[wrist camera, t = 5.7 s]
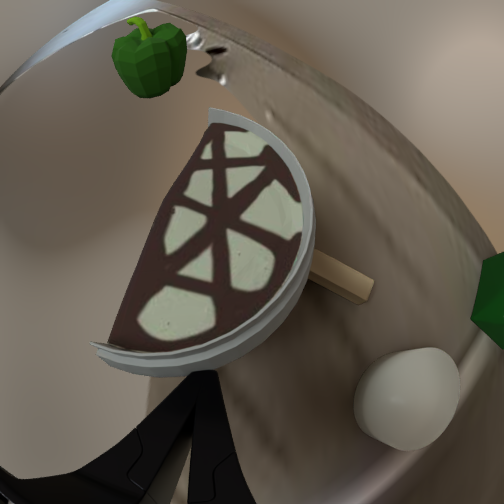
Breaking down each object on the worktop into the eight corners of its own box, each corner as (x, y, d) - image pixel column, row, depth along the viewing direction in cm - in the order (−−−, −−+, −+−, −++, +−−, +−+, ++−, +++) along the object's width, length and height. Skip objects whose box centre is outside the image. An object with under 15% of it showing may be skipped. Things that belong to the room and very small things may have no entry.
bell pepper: (200, 89, 27) (194, 14, 18) (133, 116, 25) (109, 40, 16) (177, 64, 29) (169, 2, 20) (119, 86, 27) (101, 24, 18)
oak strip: (358, 305, 19) (367, 300, 17) (171, 206, 21) (167, 196, 19) (365, 286, 19) (374, 280, 18) (182, 192, 21) (179, 181, 20)
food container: (256, 402, 15) (293, 427, 6) (160, 374, 15) (83, 360, 6) (294, 233, 21) (336, 129, 12) (215, 214, 21) (212, 101, 12)
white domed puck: (404, 446, 14) (433, 457, 11) (335, 424, 15) (358, 438, 12) (438, 368, 17) (470, 365, 13) (377, 337, 18) (406, 331, 14)
